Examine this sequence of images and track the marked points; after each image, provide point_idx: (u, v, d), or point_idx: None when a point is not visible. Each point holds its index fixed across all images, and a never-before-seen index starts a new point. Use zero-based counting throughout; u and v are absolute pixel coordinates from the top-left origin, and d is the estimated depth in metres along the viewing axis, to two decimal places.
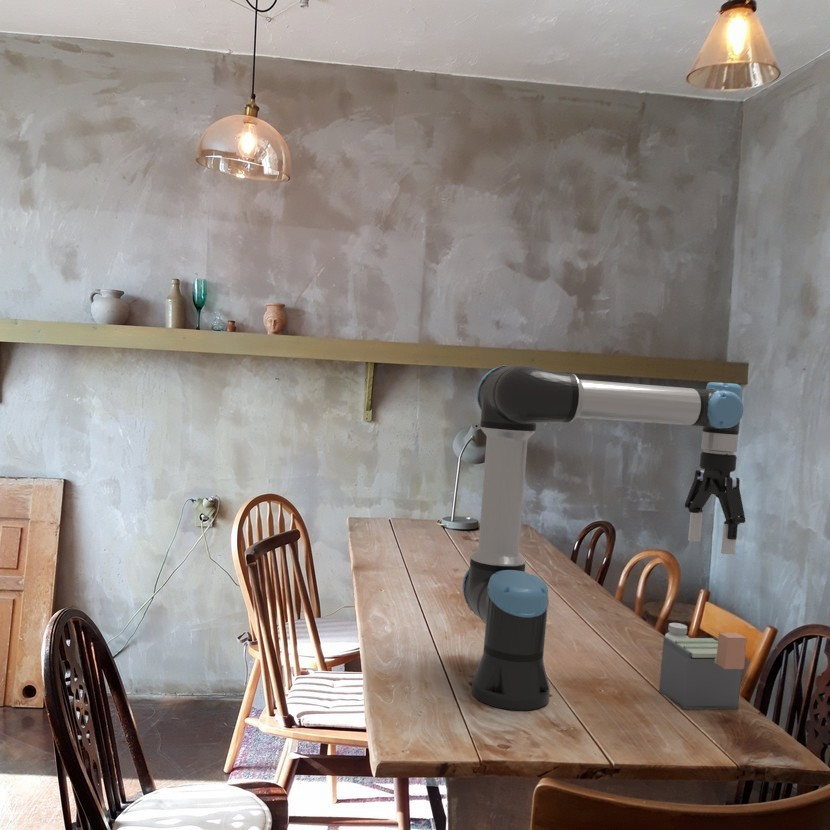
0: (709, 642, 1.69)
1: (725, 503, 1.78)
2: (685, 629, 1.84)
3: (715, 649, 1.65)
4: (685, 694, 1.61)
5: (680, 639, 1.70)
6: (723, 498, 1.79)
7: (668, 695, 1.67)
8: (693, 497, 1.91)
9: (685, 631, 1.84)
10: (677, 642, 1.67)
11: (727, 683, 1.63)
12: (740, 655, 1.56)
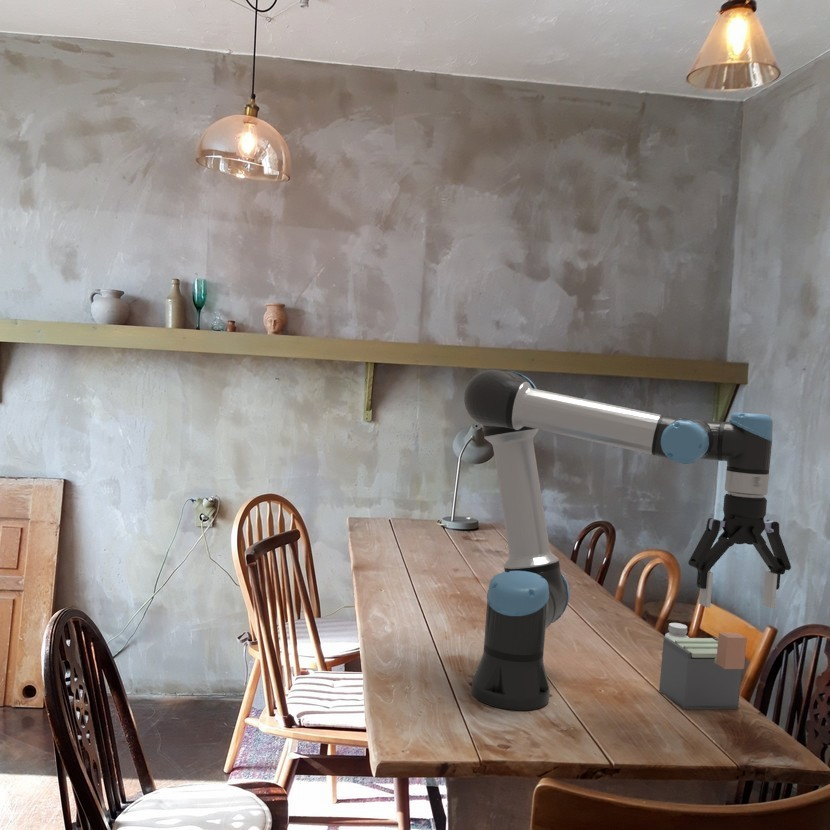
0: (709, 642, 1.69)
1: (712, 548, 1.56)
2: (685, 629, 1.84)
3: (715, 649, 1.65)
4: (685, 694, 1.61)
5: (680, 639, 1.70)
6: (716, 543, 1.57)
7: (668, 695, 1.67)
8: (775, 554, 1.59)
9: (685, 631, 1.84)
10: (677, 642, 1.67)
11: (727, 683, 1.63)
12: (740, 655, 1.56)
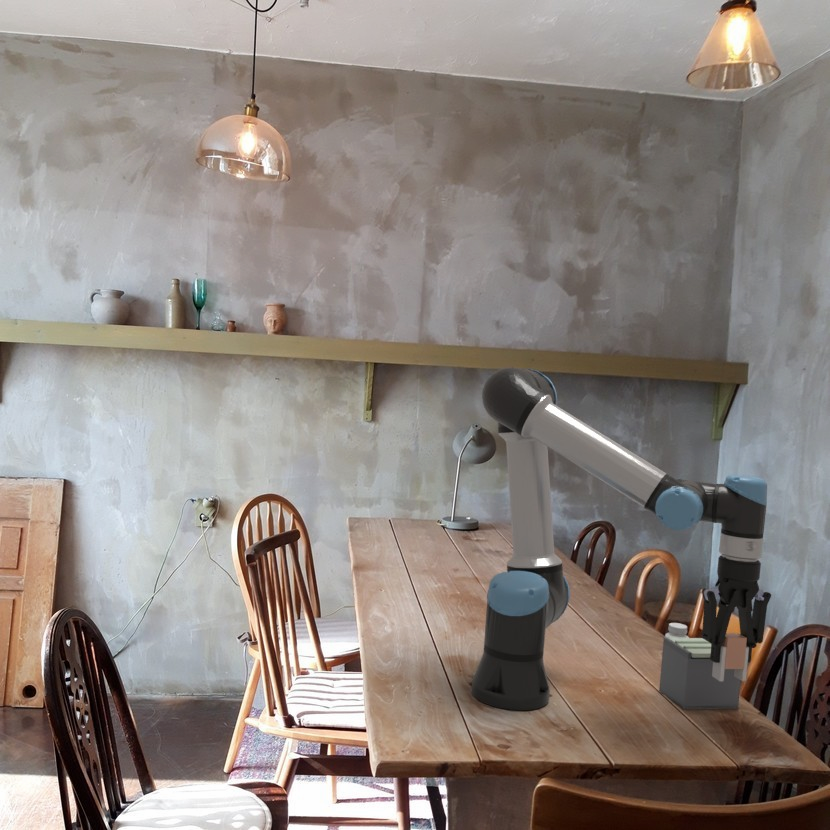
0: (709, 642, 1.69)
1: (717, 618, 1.57)
2: (685, 629, 1.84)
3: None
4: (685, 694, 1.61)
5: (680, 639, 1.70)
6: (718, 612, 1.58)
7: (668, 695, 1.67)
8: (753, 623, 1.59)
9: (685, 631, 1.84)
10: (677, 642, 1.67)
11: (727, 683, 1.63)
12: (740, 655, 1.56)
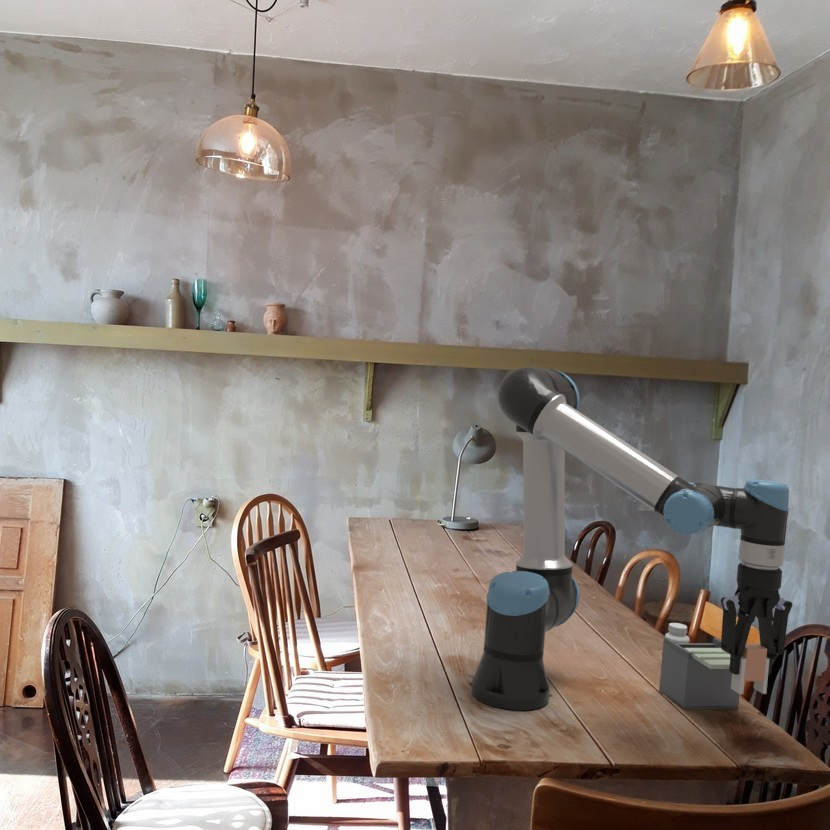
0: (726, 652, 1.63)
1: (736, 629, 1.51)
2: (685, 629, 1.84)
3: None
4: (685, 694, 1.61)
5: (696, 649, 1.64)
6: (737, 622, 1.51)
7: (668, 695, 1.67)
8: (773, 634, 1.53)
9: (685, 631, 1.84)
10: (693, 652, 1.61)
11: (727, 683, 1.63)
12: (760, 666, 1.50)
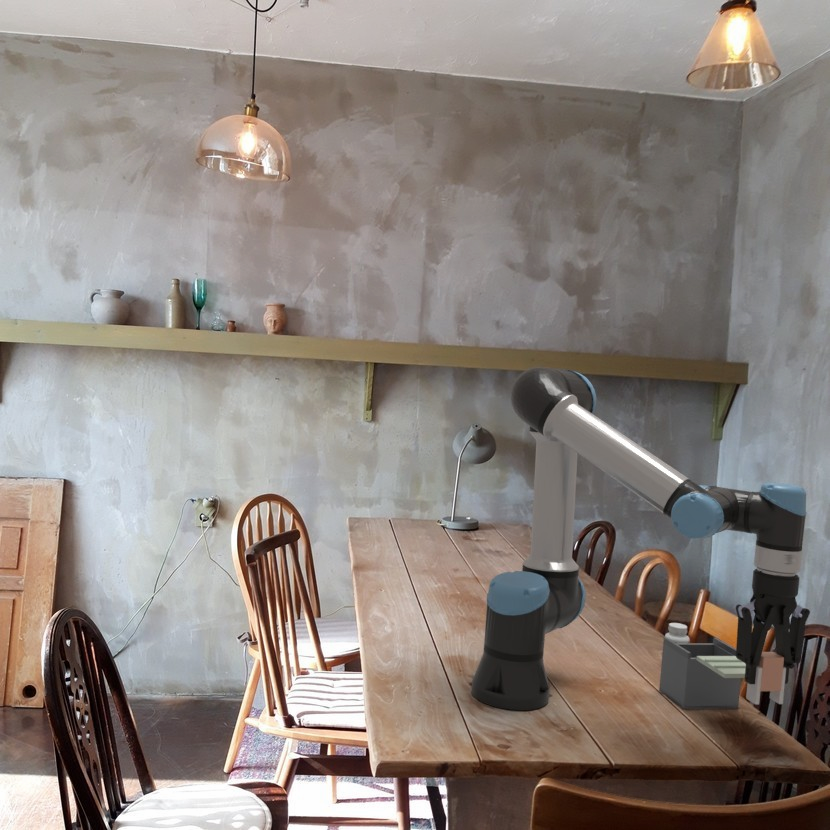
0: (741, 661, 1.58)
1: (751, 637, 1.47)
2: (685, 629, 1.84)
3: None
4: (685, 694, 1.61)
5: (710, 657, 1.59)
6: (753, 630, 1.47)
7: (668, 695, 1.67)
8: (790, 642, 1.48)
9: (685, 631, 1.84)
10: (707, 661, 1.57)
11: (727, 683, 1.63)
12: (776, 676, 1.46)
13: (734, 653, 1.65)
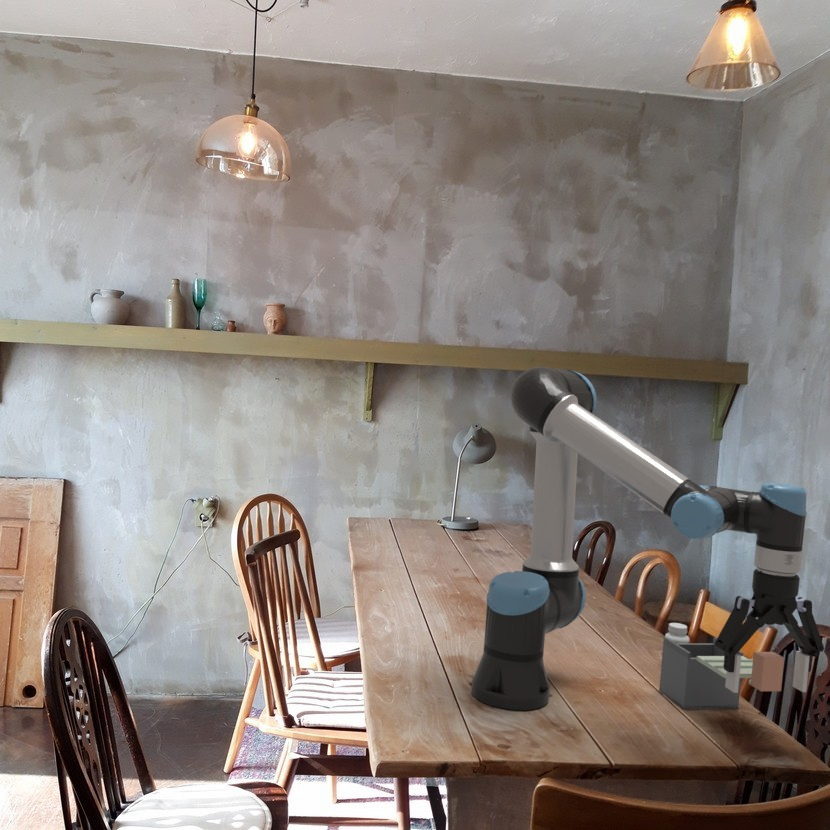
0: (741, 661, 1.58)
1: (740, 628, 1.46)
2: (685, 629, 1.84)
3: (748, 668, 1.54)
4: (685, 694, 1.61)
5: (710, 657, 1.59)
6: (744, 623, 1.46)
7: (668, 695, 1.67)
8: (807, 633, 1.49)
9: (685, 631, 1.84)
10: (707, 661, 1.56)
11: None
12: (777, 676, 1.46)
13: None
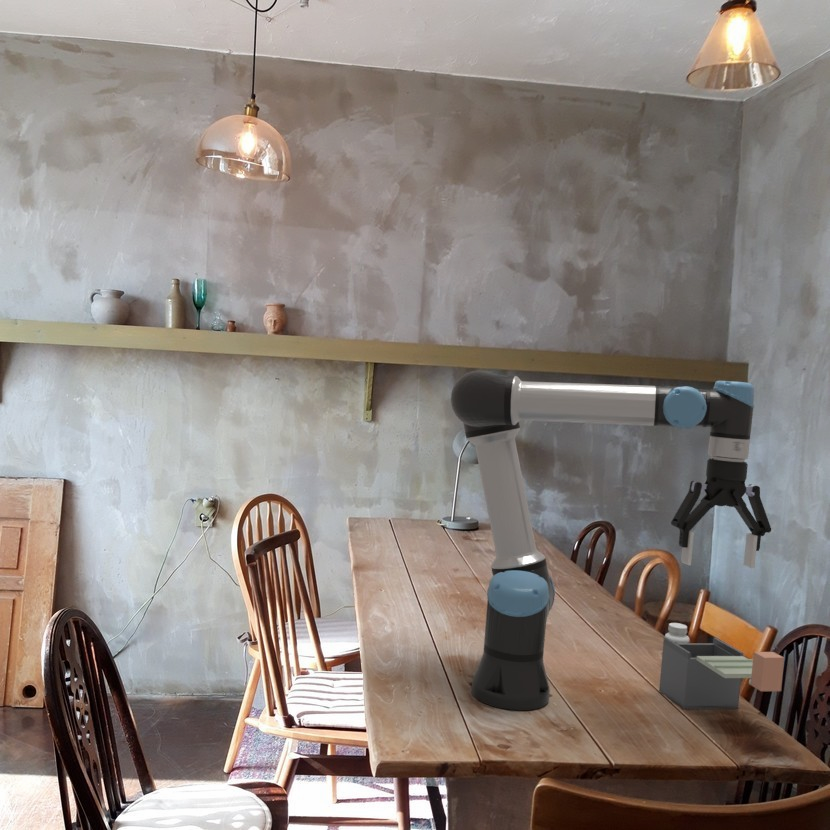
0: (741, 661, 1.58)
1: (694, 509, 1.64)
2: (685, 629, 1.84)
3: (748, 668, 1.54)
4: (685, 694, 1.61)
5: (710, 657, 1.59)
6: (698, 505, 1.64)
7: (668, 695, 1.67)
8: (756, 517, 1.66)
9: (685, 631, 1.84)
10: (707, 661, 1.56)
11: (727, 683, 1.63)
12: (777, 676, 1.46)
13: (734, 653, 1.65)
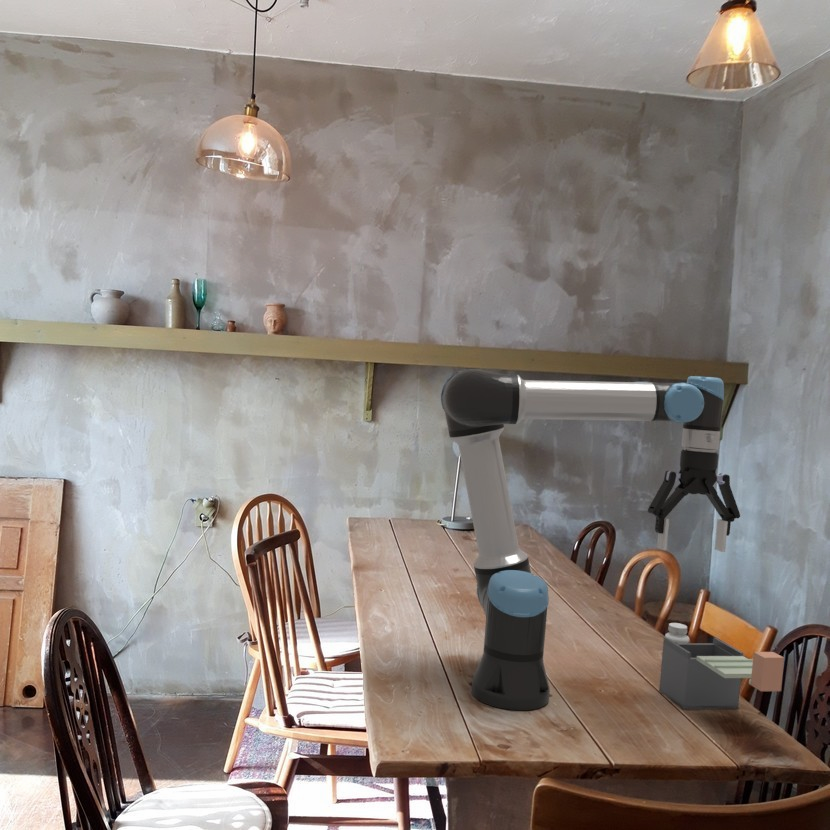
0: (741, 661, 1.58)
1: (669, 498, 1.74)
2: (685, 629, 1.84)
3: (748, 668, 1.54)
4: (685, 694, 1.61)
5: (710, 657, 1.59)
6: (672, 493, 1.75)
7: (668, 695, 1.67)
8: (726, 504, 1.77)
9: (685, 631, 1.84)
10: (707, 661, 1.56)
11: (727, 683, 1.63)
12: (777, 676, 1.46)
13: (734, 653, 1.65)
